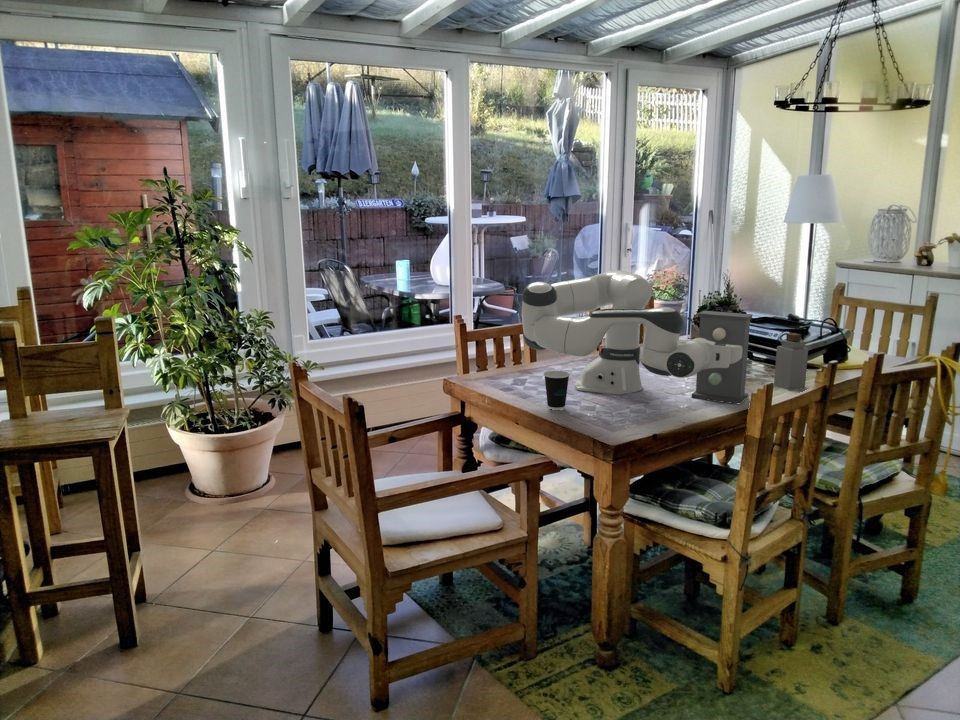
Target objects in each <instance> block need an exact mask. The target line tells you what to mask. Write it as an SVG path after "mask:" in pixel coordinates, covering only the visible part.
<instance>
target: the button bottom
mask: <svg viewBox="0 0 960 720" xmlns="http://www.w3.org/2000/svg"><path fill="white" fill-rule="evenodd" d="M708 380H709V382H710V384H712V385H718V384H719V383H720V382H721V381H722V376H721V375H720V374H719V373H713V374H711V375H710V376H709V379H708Z"/></svg>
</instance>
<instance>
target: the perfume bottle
mask: <svg viewBox="0 0 960 720" xmlns="http://www.w3.org/2000/svg"><path fill="white" fill-rule="evenodd" d="M785 336H786V339H780V342H781V345H778V346H776V355H775V356H776V357H775V369H774V379H773V386H774V385H775V387H778V388H780V389H784V390H787V391H794V390H795V391H796V390H801V389H800V388H802V389H805V388H806V381H807V380H806V377H807V367H808V357H809V355H808V354H809V348H808V347H805V345H806V341H804V340H801V338H802V334H801V333H796V332H789V333H786V335H785Z"/></svg>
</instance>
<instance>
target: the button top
mask: <svg viewBox="0 0 960 720" xmlns="http://www.w3.org/2000/svg"><path fill="white" fill-rule="evenodd" d="M725 336H726V331H725V329H723V328H717V329H715V330H714V331H713V337H714V339H716V340H722V339H723V338H725Z"/></svg>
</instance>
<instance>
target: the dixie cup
mask: <svg viewBox="0 0 960 720" xmlns="http://www.w3.org/2000/svg"><path fill="white" fill-rule="evenodd" d="M543 375H544V381H545V382H544V383H545V385H544V386H545V393H546V403H547V406H548V407H549V408H550V409H554V410H560V411H562V410H561V409H563V410H564V409H565V406H566V401H567V396H568V395H567V393H568V386H569V379H570V378H569V377H570V376H571V374H570V372H567V371H564V370H547V371H545V372H544V373H543ZM549 408H548V409H549ZM550 409H549V410H550ZM554 410H553V411H554Z"/></svg>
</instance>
